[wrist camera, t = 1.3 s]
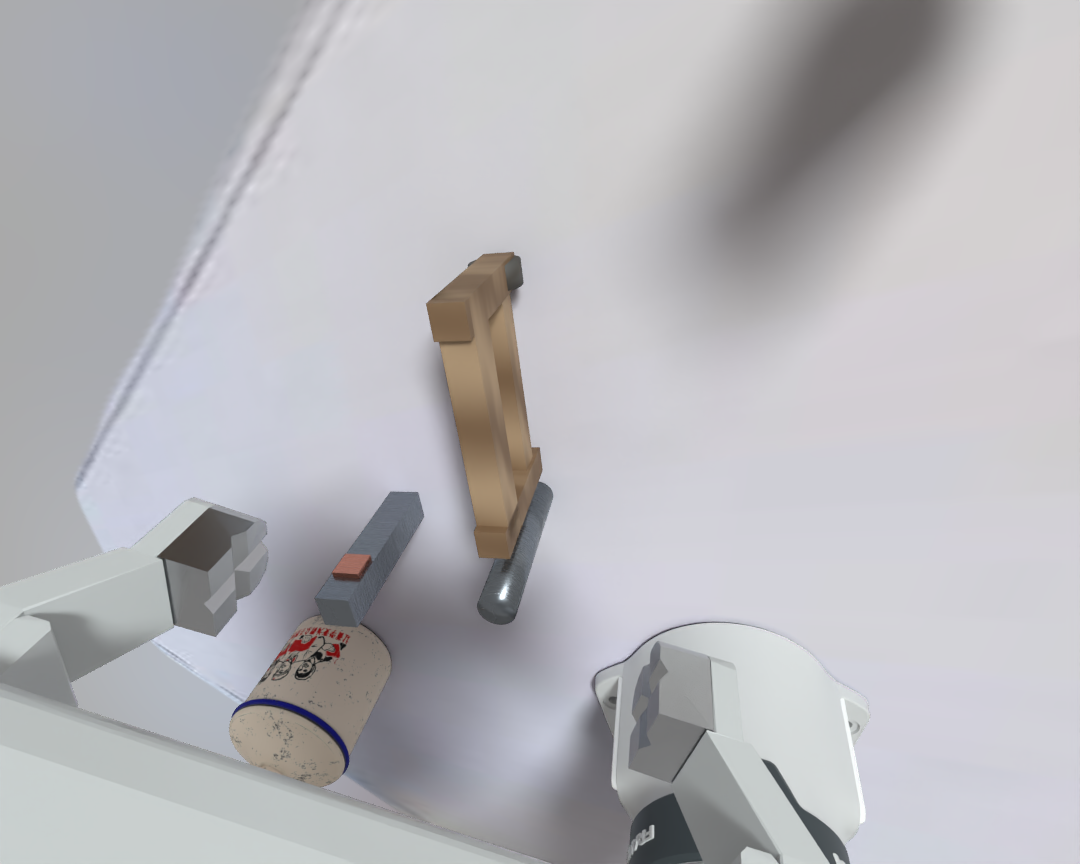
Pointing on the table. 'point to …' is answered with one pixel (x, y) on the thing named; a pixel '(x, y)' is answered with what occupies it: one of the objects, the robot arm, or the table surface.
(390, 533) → the posts
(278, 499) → the table surface
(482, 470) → the gate
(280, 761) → the teacup with lid
